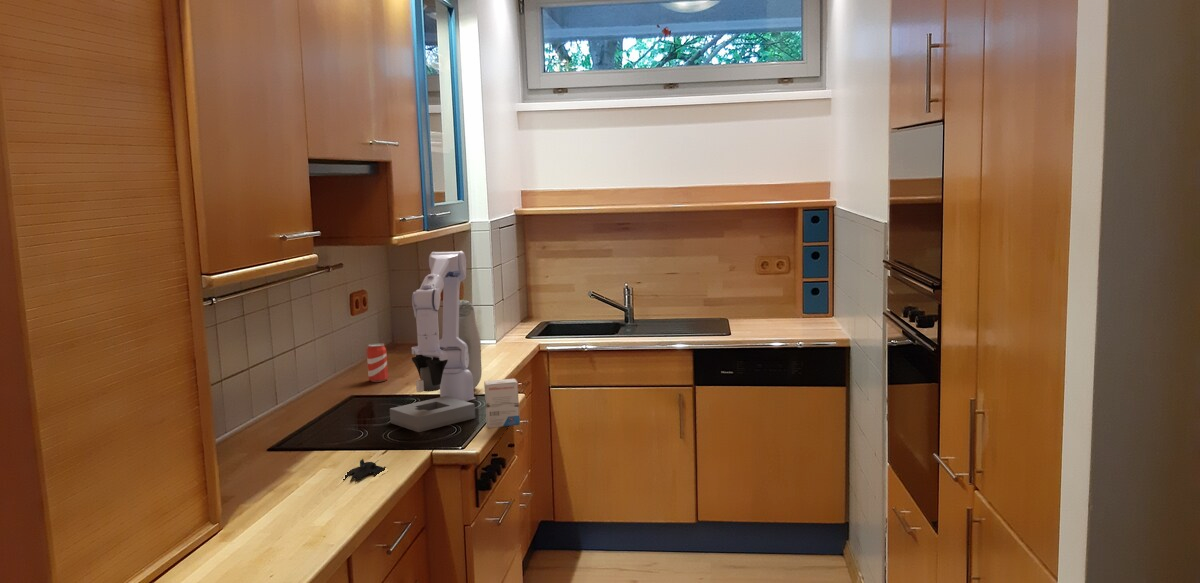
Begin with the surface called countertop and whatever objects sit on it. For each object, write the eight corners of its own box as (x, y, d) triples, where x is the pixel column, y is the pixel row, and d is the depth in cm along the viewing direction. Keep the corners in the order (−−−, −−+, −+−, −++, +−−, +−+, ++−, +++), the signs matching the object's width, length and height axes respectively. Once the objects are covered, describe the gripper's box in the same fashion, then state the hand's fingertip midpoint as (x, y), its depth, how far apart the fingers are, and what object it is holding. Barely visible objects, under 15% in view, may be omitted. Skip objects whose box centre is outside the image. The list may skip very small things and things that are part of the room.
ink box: (518, 420, 246) (516, 377, 244) (520, 425, 241) (518, 381, 240) (485, 423, 244) (483, 380, 243) (487, 428, 239) (485, 384, 238)
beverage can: (365, 380, 302) (363, 344, 300) (383, 377, 305) (381, 342, 304) (373, 383, 297) (370, 347, 295) (391, 380, 301) (389, 344, 299)
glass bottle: (443, 389, 285) (438, 300, 281) (472, 384, 291) (467, 297, 287) (459, 395, 277) (454, 303, 273) (488, 389, 283) (484, 299, 280)
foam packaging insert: (446, 409, 260) (445, 395, 260) (475, 418, 250) (474, 403, 249) (390, 422, 248) (389, 408, 247) (418, 432, 238) (417, 417, 237)
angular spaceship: (397, 468, 210) (396, 456, 210) (373, 492, 196) (372, 479, 195) (351, 467, 212) (350, 455, 212) (323, 491, 197) (322, 478, 197)
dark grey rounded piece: (434, 386, 251) (432, 364, 250) (443, 389, 247) (442, 367, 247) (413, 390, 247) (411, 368, 246) (422, 393, 243) (421, 371, 242)
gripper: (400, 333, 248) (403, 382, 250) (430, 338, 238) (433, 389, 240) (423, 329, 253) (425, 377, 255) (452, 334, 243) (455, 385, 244)
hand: (430, 383), depth 248 cm, fingers closed on dark grey rounded piece, 5 cm apart
